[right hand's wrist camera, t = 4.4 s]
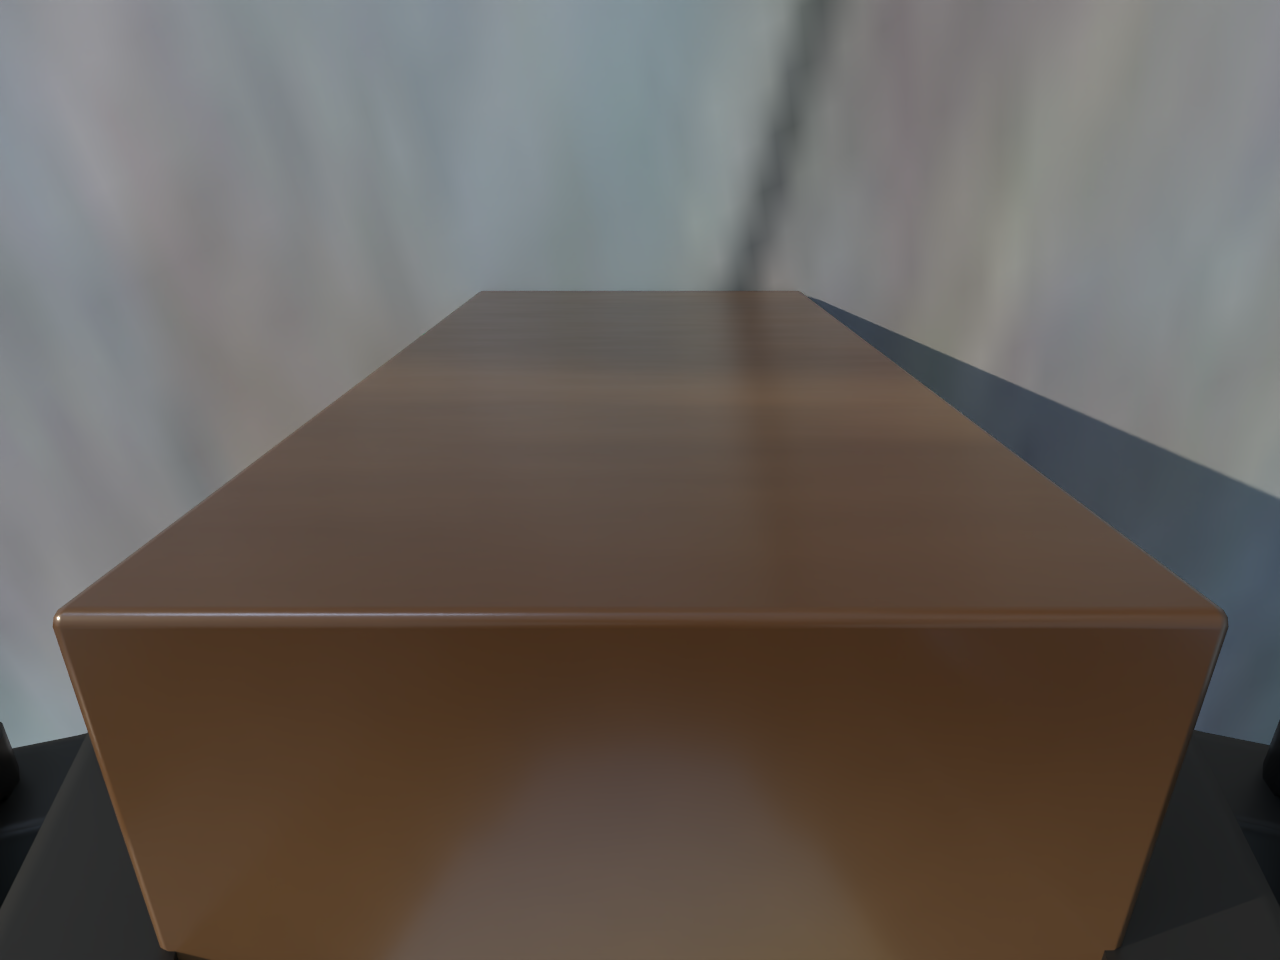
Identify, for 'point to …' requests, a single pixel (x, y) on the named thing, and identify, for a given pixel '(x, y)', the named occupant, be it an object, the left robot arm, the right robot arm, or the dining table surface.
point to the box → (640, 663)
